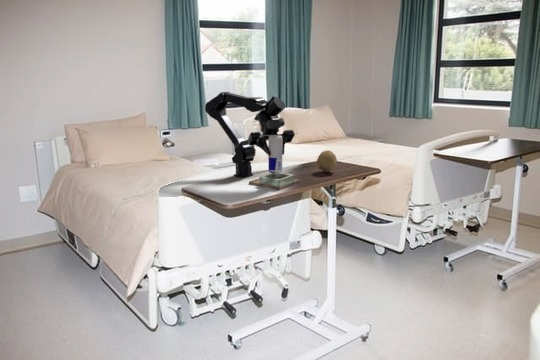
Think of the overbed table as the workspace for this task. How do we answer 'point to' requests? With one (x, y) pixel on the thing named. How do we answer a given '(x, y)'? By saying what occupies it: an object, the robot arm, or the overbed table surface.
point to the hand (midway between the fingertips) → (276, 154)
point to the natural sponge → (326, 161)
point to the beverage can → (275, 154)
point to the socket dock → (275, 180)
